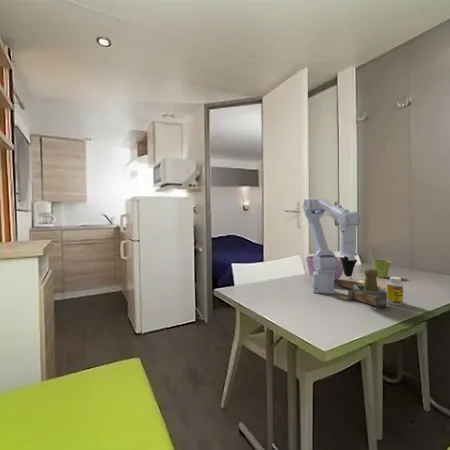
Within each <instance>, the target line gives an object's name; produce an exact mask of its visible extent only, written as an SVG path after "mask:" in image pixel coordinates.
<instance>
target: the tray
mask: <svg viewBox="0 0 450 450" xmlns="http://www.w3.org/2000/svg"><path fill="white" fill-rule="evenodd" d="M352 287H353V289H352V290H356V289H358V290H360V292H364V293H367V294H371V295H374V296H377V297H384V298H386V299H387V290H384V288H382V287H381V286H380V285H377V288H378V291H363V290H364V284H353V286H352Z"/></svg>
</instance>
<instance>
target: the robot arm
mask: <svg viewBox="0 0 450 450" xmlns="http://www.w3.org/2000/svg"><path fill="white" fill-rule="evenodd" d="M302 208H303V212H304V215H305V218H306V219H307V222H308V226H309V229H310V234H311V236H312V240H313V244H314V247H315V250H316V253H315V254H313V255H312V256H313V261H314V263H313V264H314V268H315V270H316V272H313V277H312V284H311V288H312V291H313V293H314V294H315V293H317V294H320V293H321V294H332V295H336V294H337V293H336V290H335V280H334V272H336V270H337V269H338V267H339V262H338V259H337V258H336V257H337V256H336V255H335V253H334V252H333V251H331V250H330V249H329V247H328V244H327V240H326V236H325V234H324V231H323V227H322V223H321V221H320V218H322V217H323V216H324V214H325V213H326V212H327V213H329V216H330V217H331V218H332V219H334V220H335V221H337V222H338V226H339V231H340V252H339V255H340V256H339V257H340V259H341V262H342V265H343V274H344V275H345V277H347V278H348V277H349V278H350V277H352V276H353V272H354V267H355V266H356V264H357V262H358V260H357V259H356V258H355V257H356V256H360V253H359V252H357V226H359V224H360V222H361V217H360V214H359V213H358V212H356V211H352V212H351V211H350V210H349V209H347V208H344V207H343V205H341V204H336V205H334V204H333V203H331V202H329V201H328V199H327V198H325V197H305V199H304V201H303V205H302ZM341 256H342V257H341Z"/></svg>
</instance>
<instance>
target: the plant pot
mask: <svg viewBox="0 0 450 450" xmlns="http://www.w3.org/2000/svg"><path fill="white" fill-rule="evenodd" d="M371 262H372V265H373V269H375V270H377V271H378V275H377V277H376V278H382V279H383V278H388V275H389V270H390V265H391V264H392V261H391V260H385V259H373V260H372V261H371Z"/></svg>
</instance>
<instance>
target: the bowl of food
mask: <svg viewBox="0 0 450 450" xmlns="http://www.w3.org/2000/svg"><path fill="white" fill-rule="evenodd" d="M313 256H314V255H309V256H306V257H305V262H306V266H307V270H308V273H309V275H310V276H311V277H312V278H313V272H316V270H315V268H314V264H313V263H314V261H313ZM340 257H341V256H336V258H337V259H338V262H339V267H338V269H337V270H336V272H334V281H336V280H338V279H340V278H341V277H342V275H343V274H344V270H343V265H342V262H341V259H340Z"/></svg>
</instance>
